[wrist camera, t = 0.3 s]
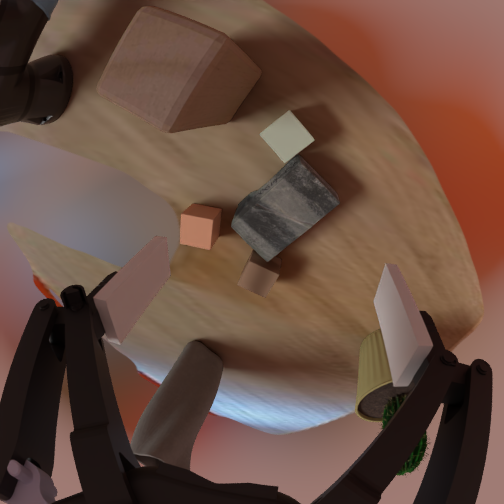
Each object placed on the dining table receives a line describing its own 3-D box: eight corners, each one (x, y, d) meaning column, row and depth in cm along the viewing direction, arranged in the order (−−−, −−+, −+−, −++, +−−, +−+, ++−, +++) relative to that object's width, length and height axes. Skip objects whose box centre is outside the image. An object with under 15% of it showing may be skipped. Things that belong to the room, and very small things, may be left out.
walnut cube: (243, 269, 49) (237, 285, 45) (254, 246, 47) (249, 261, 43) (269, 281, 50) (265, 297, 45) (281, 259, 47) (279, 275, 43)
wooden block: (209, 42, 32) (139, 0, 15) (265, 71, 34) (232, 35, 16) (175, 95, 37) (89, 93, 20) (227, 126, 38) (167, 138, 21)
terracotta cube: (191, 230, 48) (180, 243, 43) (193, 203, 45) (181, 213, 41) (219, 236, 47) (210, 250, 43) (222, 208, 45) (212, 219, 40)
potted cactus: (383, 307, 48) (416, 455, 22) (430, 334, 49) (467, 456, 23) (335, 355, 56) (336, 488, 29) (384, 375, 57) (397, 489, 31)
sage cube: (264, 132, 38) (259, 134, 34) (290, 110, 36) (289, 110, 32) (286, 157, 39) (284, 163, 35) (313, 137, 37) (314, 140, 33)
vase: (192, 371, 66) (150, 472, 40) (168, 337, 62) (112, 445, 36) (235, 369, 63) (202, 483, 37) (214, 333, 58) (165, 459, 32)
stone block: (231, 211, 45) (222, 223, 40) (296, 148, 39) (295, 153, 34) (270, 249, 47) (266, 264, 42) (337, 192, 41) (341, 202, 36)
